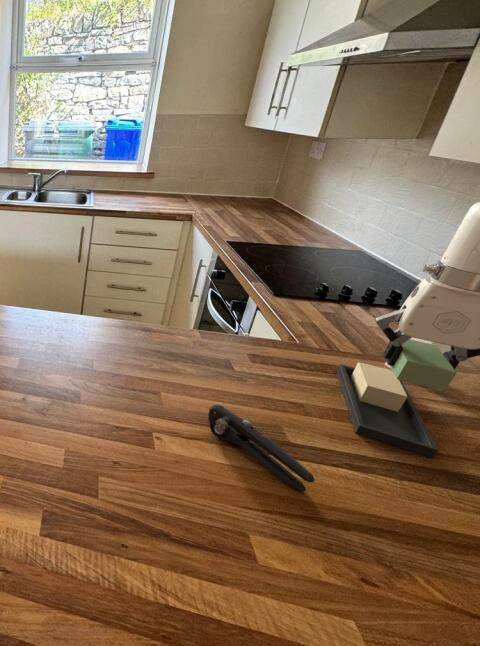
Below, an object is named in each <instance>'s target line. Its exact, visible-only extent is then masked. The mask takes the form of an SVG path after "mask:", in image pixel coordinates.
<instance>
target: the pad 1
mask: <svg viewBox="0 0 480 646" xmlns="http://www.w3.org/2000/svg"><path fill="white" fill-rule="evenodd" d="M354 368H355V370H354V371H353V373H352V375H351V378H352V381H353V383H354V386H355V389H356V392H357V395H358V398H359V401H362V402H366V403H369V404H372V405H376V406H379V407H383V408H386V409H390V410H393V411H396V412H398V411H399V410H400V408H401V406H402V405H403V403H404V402H405V400H406V398H407V395H406V393H405V391H404V389H403V387H402V385H401V383H400V381H399V380H398V379H396V377H395V375H394V373H393V371H392V369H387V368H383V367H380V366H376V365H372V364H368V363H363V362H361V361H358V362H357V364H356V366H355V367H354Z"/></svg>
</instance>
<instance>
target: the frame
mask: <svg viewBox="0 0 480 646" xmlns="http://www.w3.org/2000/svg"><path fill="white" fill-rule="evenodd" d="M355 368H356V367H353V366H349V365H345V364H341V363H340V364H339V365H338V367H337V369H336V374H337V377H338V381H339V383H340V386H341V391H342V394H343V397H344V401H345V405H346V407H347V410H348V411H347V412H348V415H349V417H350V420H351V425H352V427H353V430H354V433H355V434H356V435H359V436H362V437H366V438H368V439H371V440H374V441H378V442H381V443H384V444H386V445H390V446H393V447H396V448H399V449H403V450H405V451H409V452H412V453H414V454H418V455H421V456H424V457H427V458H430V459H434V458H435V456H436V455H437V453H438V452H439V448H438V446H437V445H436V443H435V442H434V438H433V437H432V435H431V433H430V432H429V430H428V427H427V426H426V424H425V422H424V420H423V418H422V417H421V414H420V412H419V411H418V408H417V407H416V405H415V403H414V401H413V399H412V397H411V395H410V394H409V391H408V389H407V388H406V385H405V384H404V381H402V380H399V381H400V383H401V385H402V387H403V389H404V391H405V393H406V395H407V398H406V400H405V402H404V403H403V405H402V406H401V408H400V410H399V411H398V412H396V411H393V410H390V409H386V408H383V407H379V406H376V405H372V404H369V403H366V402H362V401H359V398H358V395H357V392H356V389H355V386H354V383H353V381H352V378H351V375H352V373H353V371H354V370H355Z"/></svg>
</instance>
